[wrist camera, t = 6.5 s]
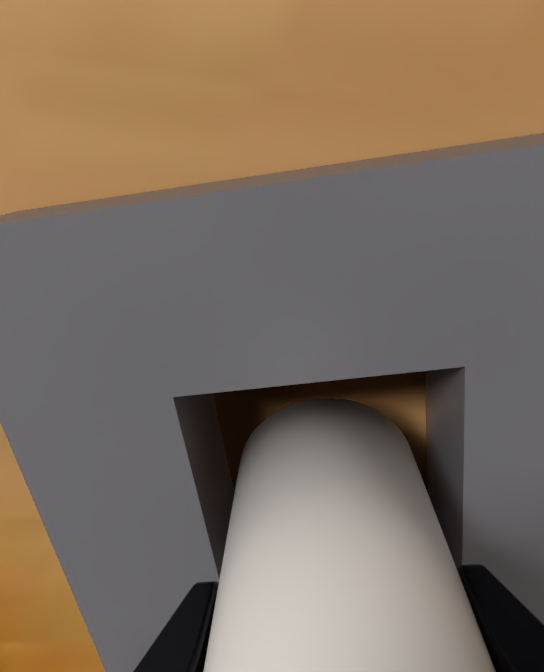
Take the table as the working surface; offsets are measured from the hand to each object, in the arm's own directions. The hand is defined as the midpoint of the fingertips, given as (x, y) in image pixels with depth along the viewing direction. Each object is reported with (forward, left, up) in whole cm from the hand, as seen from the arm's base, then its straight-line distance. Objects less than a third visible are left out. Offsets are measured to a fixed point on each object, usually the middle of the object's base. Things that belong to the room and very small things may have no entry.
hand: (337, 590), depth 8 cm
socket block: (0, 0, -5) cm, 5 cm away
